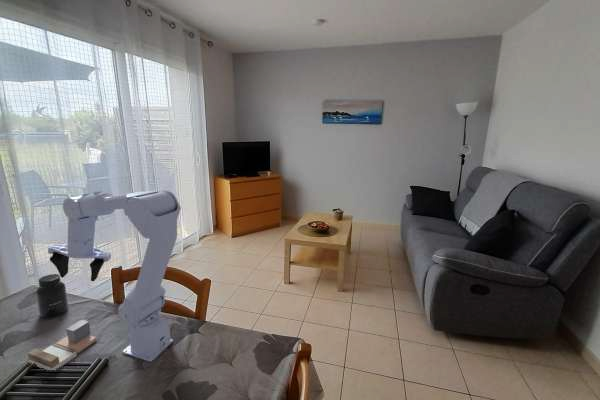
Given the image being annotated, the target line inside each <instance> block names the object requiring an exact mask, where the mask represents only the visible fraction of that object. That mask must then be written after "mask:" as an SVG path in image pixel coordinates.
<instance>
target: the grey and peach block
mask: <svg viewBox="0 0 600 400" xmlns="http://www.w3.org/2000/svg"><path fill="white" fill-rule="evenodd" d="M66 333H67V335H66V336H65V337H63V338H62V339H60V340H59V341H57V342H56V343H55V344H56V345H58V346H61V347H64V348H67V349H70V350H73V351H76V354H79V353H81V352H82V351H84V350H85V349H86V348H88V347H89V346H91V345H93V343H95V342H96V341H97V336H93V335H91V334H92V333H91V327H90V322H89V320H86V319H85V320H84V319H81V320H79V321H77V322H75V323H74V324H72V325H71V326H69V327H67V328H66Z"/></svg>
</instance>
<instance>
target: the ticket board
mask: <svg viewBox="0 0 600 400" xmlns="http://www.w3.org/2000/svg"><path fill="white" fill-rule="evenodd" d="M77 354H78V353H76V351H73V350H70V349H67V348H64V347H61V346H58V345H56V343H53V344H52V345H50V346H48V347H45V349H43V350H40V349H37V348H34V349H32V350H31V351H29V352H27V356H28V362H30V363H36V365H37V366H36V367H38V368H40V369H42V368H44V369H43V370H45V369H49V370H54V369H57V368H58V369H60V368H61V367H63V366H64V365H66V364H67V363H68V362H70V361H71V360H73V359H74V358H75V357H77ZM30 363H29V364H30ZM59 367H60V368H59ZM58 369H57V370H58Z"/></svg>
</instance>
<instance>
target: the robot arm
mask: <svg viewBox="0 0 600 400" xmlns="http://www.w3.org/2000/svg"><path fill="white" fill-rule="evenodd" d="M181 207H182V206H181V205H180V203H179V200H178V198H177V197H176V194H174V193H173V192H171V191H170V190H169V191H168V190H162V191H161V192H160V191H159V190H149V191H135V192H131V193H126V194H125V193H124V194H120V195H115V196H114V195H113V194H111V193H109V192H104V191H103V190H97V191H93V193H92V194H91V193H89V192H87V193H82V194H81V195H79V196H73V197H67V198H66V199H64V200H63V203H62V210H63V212H64V215H65V216H66V217H67V244H58V243H57V244H56V243H52V244H50V246H48V247H47V254H50V255H51V256H50V257H49V262H51V263H52V264H53V265H54V266H55V268H56V270H57V271H58V275H59V276H60V278H65V276H67V274H68V272H69V263H70V262H69V261H70V259H77V260H79V259H85V260H86V259H93V261H91V262H90V263H89V267H90V274H91V275H90V281H91V282H95V280H96V279H97V278H98V277H99V273H100V271H101V269H102V267H103V265H104V264H105V263H108V262H109V261H110V259H111V257H112V252H109V251H105V250H103V249H101V248H98V247H95V233H96V232H95V230H96V221H97V220H99V217H101V216H108V215H112V214H113V213H114V212H115V211H116V210H123V212H124V215H125V216H127V218H128V219H129V221H130V222H131V223H132V224H133V226H134V227H135V228H136V230H137V231H138V233H139V234H140V235H141V237H142V238H145V239H148V242H147V246H146V251H145V254H144V257H143V260H142V263H141V267H140V270H139V272H138V276H137V280H136V284H135V287H134V288H133V290H131V291H130V293H128V294H127V296H125V297H124V299H123V302H122V303H121V304H120V305H119V306H118V307H117V316H118V320H119V321H120V322H121V323H122V324H123V325H124V326H125V327H128V337H129V343H130V344H129V345H128V346H126V348H124V349H123V350H122V353H123V354H124V355H129V356H131V357H133V358H137V359H141V360H144V361H147V362H150V363H151V362H153V361H154V360H155V359H156V358H157V357H158V356H159V355H160V354H161V353H162V352H163V351H165V349H166V348H168V346H170V345H171V344H172V343H173V341H174V339H173V338H171V328H170V322H169V321H168V320H165V319H164V318H163V317H162V316H161V315H160V313H161V312H162V308H163V307H164V306H165V304H166V298H165V293H166V289H165V287H163V285H162V283H163V280H164V277H165V274H166V270H167V268H168V265H169V262H170V259H171V256H172V252H173V250H174V246H175V244H176V241H177V238H178V218H179V215H180V212H181V209H182V208H181Z"/></svg>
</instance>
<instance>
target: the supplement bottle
mask: <svg viewBox="0 0 600 400" xmlns="http://www.w3.org/2000/svg"><path fill="white" fill-rule="evenodd" d="M35 296H36V301H37V306H38V307H37V308H38V313H39V316H40V317H41V318H43V319H53V318H55V317H58V316H61V315H63V314H65V313H66V311H68V309H69V303H68V301H69V300H68V295H67V288H66V284H65V283H64V282H63V281H61V277H60V274H59V273H58V274H57V273H54V274H53V273H51V274H47V275H44V276H41V277H40V278H39V279H38V288H36V290H35Z"/></svg>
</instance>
